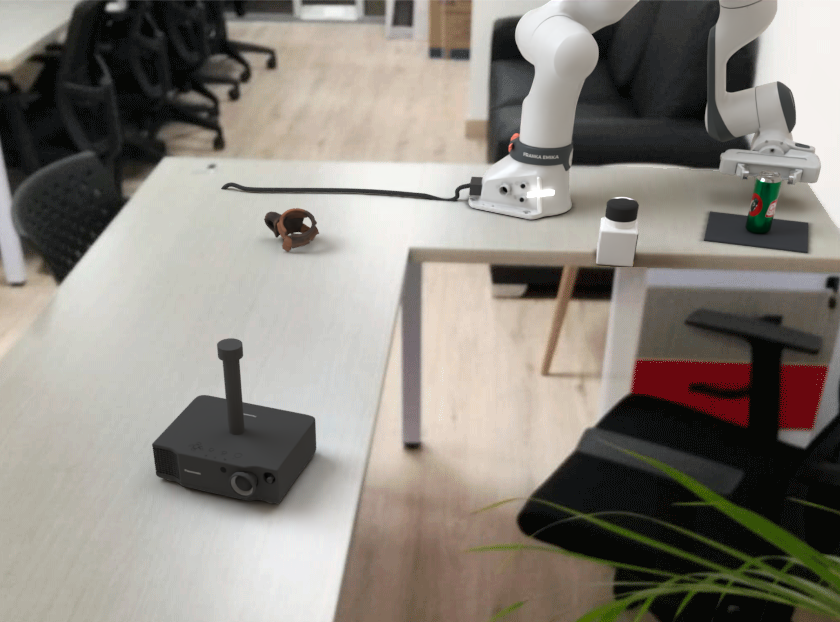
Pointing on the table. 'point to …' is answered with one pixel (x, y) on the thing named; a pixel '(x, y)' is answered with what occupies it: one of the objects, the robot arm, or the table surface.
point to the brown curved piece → (292, 227)
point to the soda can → (763, 202)
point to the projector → (235, 442)
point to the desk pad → (779, 236)
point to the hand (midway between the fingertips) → (767, 178)
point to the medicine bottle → (618, 233)
